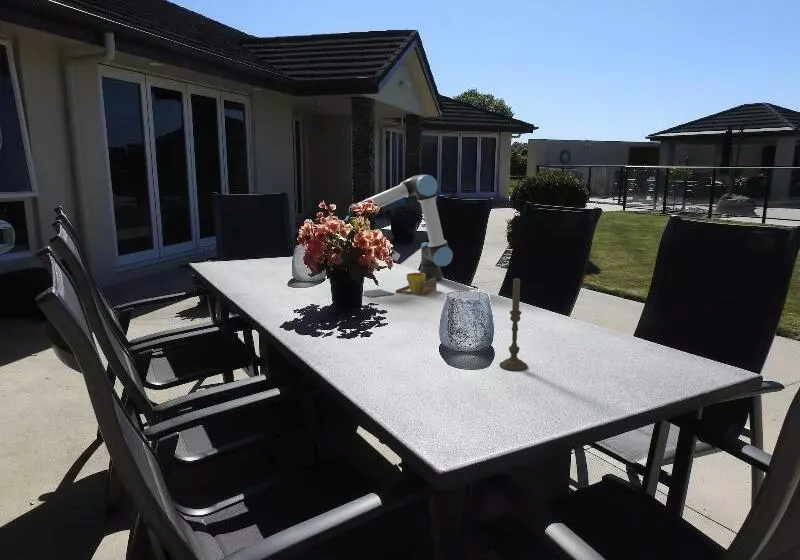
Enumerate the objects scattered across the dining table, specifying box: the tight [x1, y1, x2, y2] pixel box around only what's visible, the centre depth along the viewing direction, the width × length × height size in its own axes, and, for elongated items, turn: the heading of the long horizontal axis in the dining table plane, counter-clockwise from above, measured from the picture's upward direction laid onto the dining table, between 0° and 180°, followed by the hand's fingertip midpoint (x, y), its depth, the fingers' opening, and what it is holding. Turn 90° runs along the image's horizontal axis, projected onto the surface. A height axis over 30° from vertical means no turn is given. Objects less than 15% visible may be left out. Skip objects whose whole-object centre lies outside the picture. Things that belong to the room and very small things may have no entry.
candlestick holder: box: [499, 278, 529, 372], centre depth 180 cm, size 9×9×30 cm
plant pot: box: [406, 272, 425, 292], centre depth 305 cm, size 10×10×10 cm
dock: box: [395, 278, 437, 296], centre depth 305 cm, size 17×17×7 cm
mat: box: [363, 288, 395, 299], centre depth 300 cm, size 15×15×1 cm
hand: (398, 258), depth 308 cm, fingers open, 13 cm apart
